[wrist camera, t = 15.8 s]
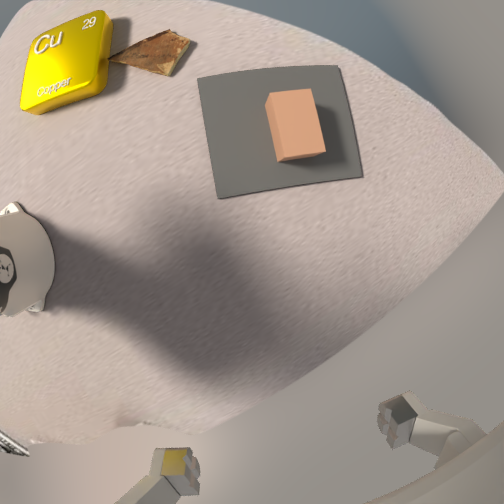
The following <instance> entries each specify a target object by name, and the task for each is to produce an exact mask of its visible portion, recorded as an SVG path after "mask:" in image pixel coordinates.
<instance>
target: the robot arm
mask: <svg viewBox="0 0 504 504" xmlns="http://www.w3.org/2000/svg"><path fill="white" fill-rule="evenodd" d="M54 270H55V262H54V254H53V249H52V245H51V242H50V240H49V237H48V235H47V233H46V231H45V230H44V228H43V227H42V225H41V224H40V223H39V222H38V221H37V220H36V219H35V218H33V217H31V216H30V215H28V214H26V213H25V212H24V211H23V210H22V208H21V207H20V205H19V204H18V203H17V202H12V203H10V204H9V205H7V206H6V207H5V208H4V209H3V210H2V211H1V212H0V315H4V316H5V317H8V316H10V317H14V316H16V315H18V314H19V313H21V312H23V311H24V310H26V311H32V312H40V311H42V310H43V308H44V304H45V296H46V294H47V292H48V290H49V289H50V287H51V285H52V282H53V278H54ZM379 411H380V413H379V415H378V417H377V422H378V427H379V429H380V431H381V433H382V434H385V435H387V439H386V440H387V442H388V444H389V445H390V447H391V448H392V450H393V449H395V448H397V447H400V446H402V445H404V444H406V443H408V442H409V443H410V444H412V445H414V446H416V447H418V448H421V449H423V450H425V451H427V452H430V453H432V454H434V455H436V456H439V458H438V460H437V462H436V464H435V466H434V468H435V470H434V471H432V472H430V473H428V474H427V475H425V476H423V477H421V478H419V479H417V480H416V481H414V482H411V483H410V484H408V485H406V486H403V487H401V488H399V489H398V490H395V491H393V492H391V493H388V494H386V495H384V496H381V497H379V498H376V499H374V500H372V501H369V502H367V503H364V504H504V421H503V422H502V423H501V424H499V425H498V426H497V427H496V428H494V429H493V430H492V431H491V432H489V433H488V434H486V433H485V432H484V431H483V430H482V429H481V428H480V427H479V426H478V425H477V424H476V423H475V422H474V420H472V419H468V418H464V417H460V416H455V415H451V414H447V413H443V412H440V411H436V410H432V409H431V410H428V409H427V408H426V407H425V406H424V405H423V404H422V402H421V401H420V400H419V399H418V398H417V397H416V396H415V395H414V393H412V391H407V392H405V393H403V394H401V395H398V396H396V397H393V398H391V399H389V400H386V401H384V402H382V403H380V404H379ZM192 454H193V452H192V450H191V448H190V447H187V448H156V449H155V450H154V454H153V458H152V462H151V468H150V472H149V476H145V477H144V478H143V479H141V480H140V481H139V482H138V483H137V484H136V485H135V486H134V487H133V488H132V489H130V490H129V491H128V492H127V493H126V494H125V495H124V496H123V497H121V498H120V499H119V500H118V501H117V502H115V503H114V504H176V502H177V501H178V500H179V498H180V496H191V495H199V489H200V483H199V482H198V480H197V479H198V477H199V476H200V466H199V463H198V460H197V458H196V457H194V456H192Z"/></svg>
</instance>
